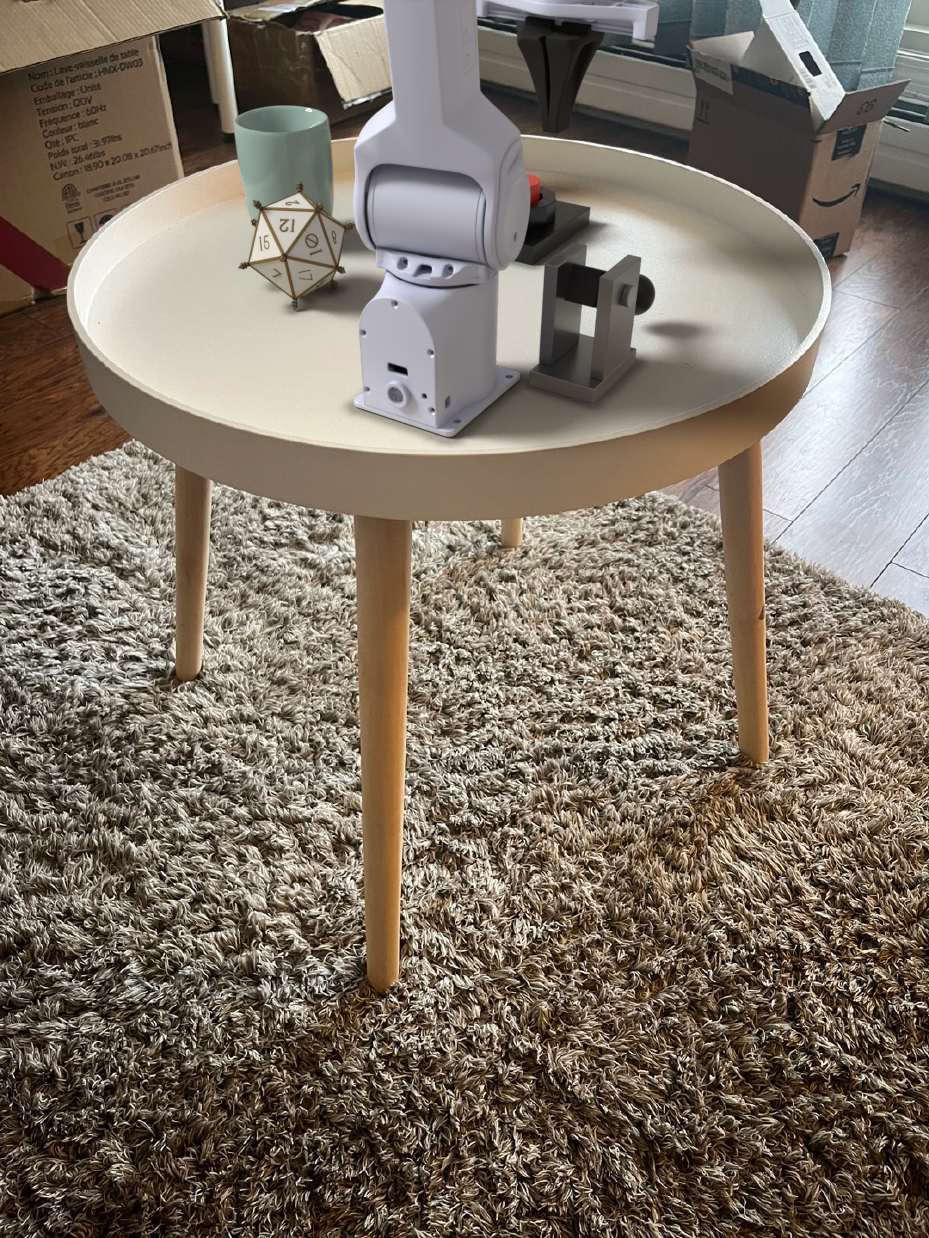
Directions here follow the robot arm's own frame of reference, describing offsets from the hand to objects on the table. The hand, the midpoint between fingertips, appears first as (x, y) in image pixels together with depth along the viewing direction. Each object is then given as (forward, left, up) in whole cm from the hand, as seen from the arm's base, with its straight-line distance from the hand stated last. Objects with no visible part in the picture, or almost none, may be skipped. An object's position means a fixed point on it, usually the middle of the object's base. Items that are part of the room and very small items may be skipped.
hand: (555, 129), depth 80 cm
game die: (-17, +13, -11) cm, 24 cm away
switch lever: (-13, -12, -7) cm, 19 cm away
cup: (-8, +21, -11) cm, 25 cm away
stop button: (+3, +5, -7) cm, 9 cm away
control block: (+3, +5, -11) cm, 12 cm away
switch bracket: (-17, -12, -11) cm, 23 cm away
